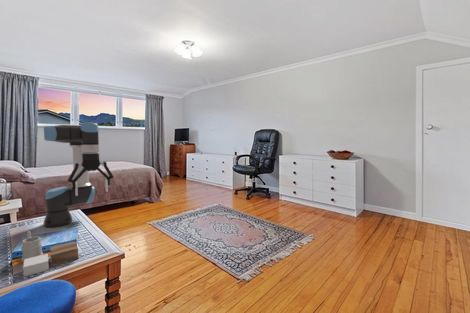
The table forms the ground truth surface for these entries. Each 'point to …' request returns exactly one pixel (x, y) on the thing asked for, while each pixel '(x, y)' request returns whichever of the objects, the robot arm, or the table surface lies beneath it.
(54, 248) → the walnut block
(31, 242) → the mug
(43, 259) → the grey block
